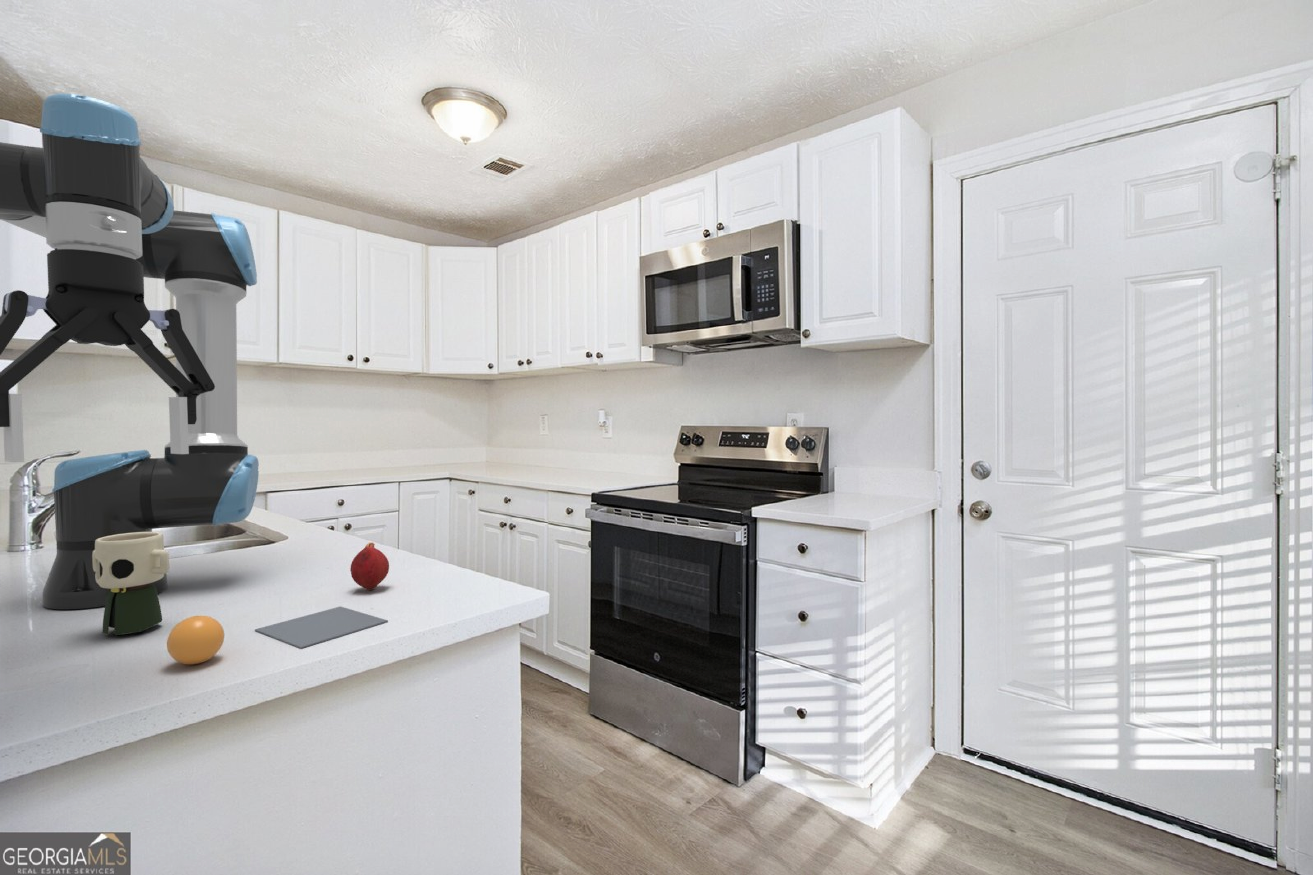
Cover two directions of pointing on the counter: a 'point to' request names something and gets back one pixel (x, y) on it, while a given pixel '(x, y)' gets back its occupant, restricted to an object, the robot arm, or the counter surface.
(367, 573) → the onion
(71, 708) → the counter surface
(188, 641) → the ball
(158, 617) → the character mug
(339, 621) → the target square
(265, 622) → the counter surface
